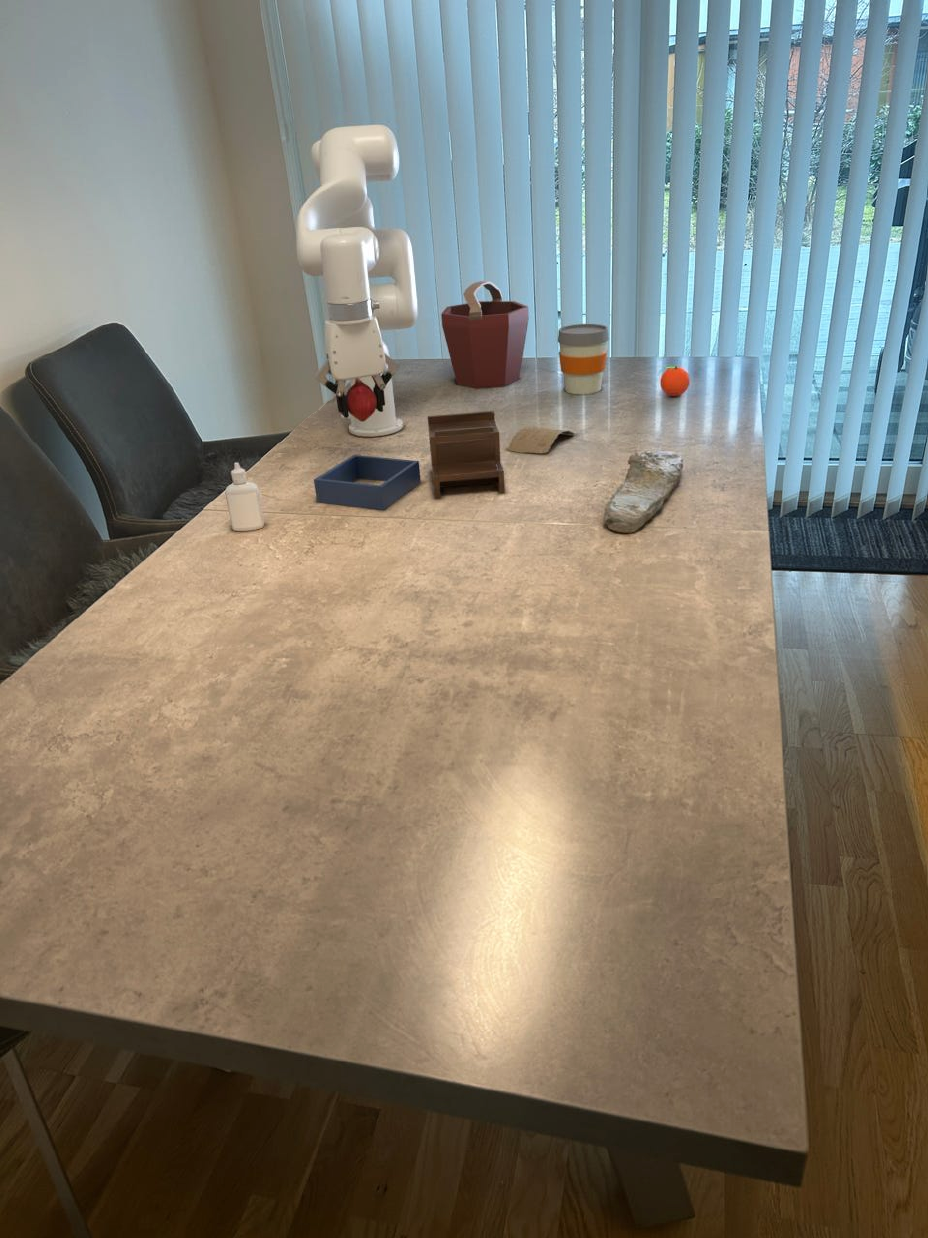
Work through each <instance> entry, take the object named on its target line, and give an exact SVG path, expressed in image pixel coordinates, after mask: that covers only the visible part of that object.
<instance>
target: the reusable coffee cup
mask: <svg viewBox="0 0 928 1238" xmlns="http://www.w3.org/2000/svg"><path fill="white" fill-rule="evenodd" d="M557 334H558V335H557V343H558V345H559V352H558V358H559V366H560V371H561V372H562V377H563V382H564V389H565V390H564V391H565V392H566V393H568V394H572V395H591V394H595V393H599V392H600V391H601V389H602V382H603V374H604V371H606V364H607V357H608V350H607V346H608V341H609V339H610V337H609V328H608V326H607V325H605V324H597V323H577V324H575V323H574V324H569V325H564V326H562V327H560V328H559V329H558V333H557Z"/></svg>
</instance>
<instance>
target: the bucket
mask: <svg viewBox="0 0 928 1238" xmlns="http://www.w3.org/2000/svg"><path fill="white" fill-rule="evenodd" d="M482 287H484V288H485V289H486V290H487V291H489V293H490V296H491V299H492V300H486V301H485V300H484V301H483V300H481V301H479V299H478V297H477V294H478V291H480V289H481V288H482ZM463 298H464V300H465V302H466V303H461V304H455V305H449V306H446V307H445V309H444V310H443V311H442V312H441V313H440V316H441V328H442V331H443V336H444V338H445V342H446V346H447V351H448V355H449V359H450V362H451V366H452V370H453V374H454V377H455V383H456V385H459V386H463V387H468V388H474V389H485V388H495V387H496V388H497V387H506V386H508V385H510V384H512V383H514V382H516V381H518V380H520V375H521V371H522V363H523V357H524V350H525V344H526V340H527V339H526V338H527V332H528V327H529V326H528V324H529V320H530V316H529V314H530V313H529V306H528V305H525V304H522V303H520V302H517V301H515V300H503V294H502V292H501V289H500V287H498V286H497V285H496V284H495V283H493V282H492V281H490V280H485V281H484V280H483V281H482V280H481V281H476V282H474V283H471V284H470V285H469V286H468V287H467V288H465V290H464V292H463Z"/></svg>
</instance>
